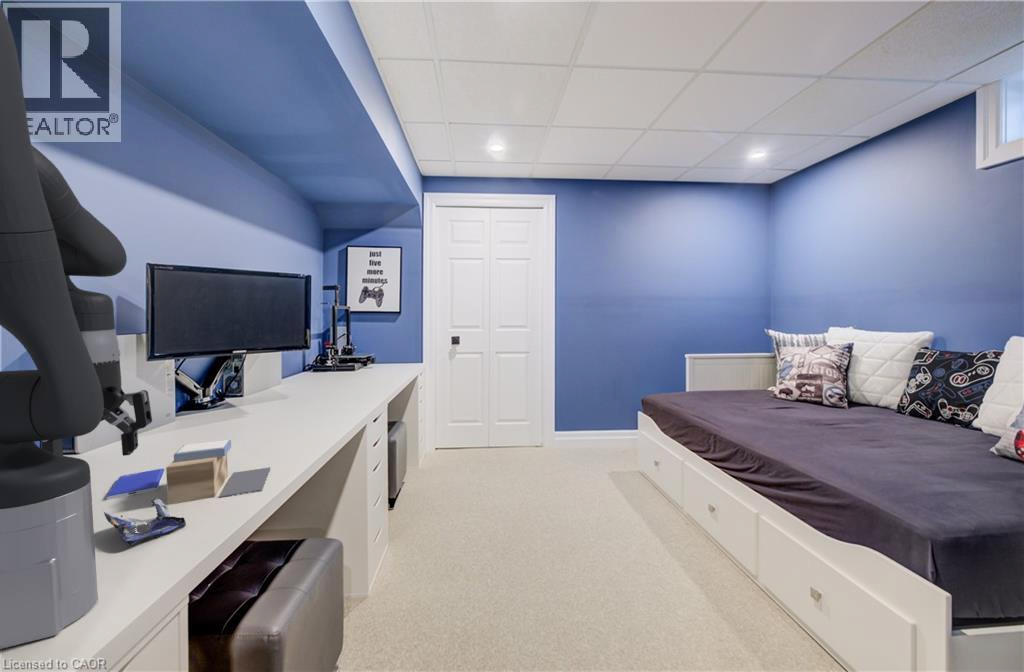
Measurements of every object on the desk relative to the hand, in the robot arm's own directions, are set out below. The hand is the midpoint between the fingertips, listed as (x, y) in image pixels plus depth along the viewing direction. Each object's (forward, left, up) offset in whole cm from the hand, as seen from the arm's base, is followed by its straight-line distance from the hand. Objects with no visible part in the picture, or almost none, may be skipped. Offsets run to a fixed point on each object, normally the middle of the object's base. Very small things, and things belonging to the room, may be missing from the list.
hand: (93, 457), depth 62 cm
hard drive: (+34, +7, -18) cm, 39 cm away
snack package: (+8, -3, -18) cm, 20 cm away
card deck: (+25, -8, -9) cm, 28 cm away
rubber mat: (+25, -16, -17) cm, 34 cm away
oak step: (+25, -7, -17) cm, 31 cm away
